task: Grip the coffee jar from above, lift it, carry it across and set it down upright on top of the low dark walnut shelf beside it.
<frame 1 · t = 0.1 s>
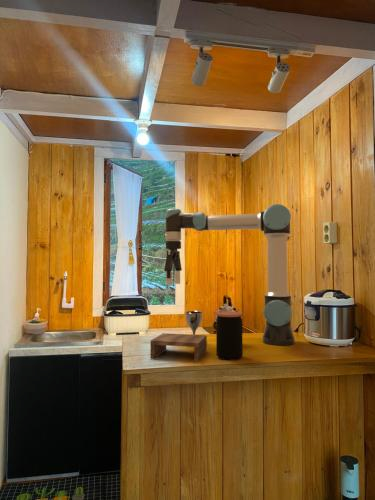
hand: (173, 284, 180), 28 cm above the table, tool pointing down, fingers open, 13 cm apart
walnut shelf: (179, 354, 156), on the table
milk carton: (226, 344, 176), on the table
wine glass: (194, 344, 177), on the table
coffee jar: (229, 357, 152), on the table
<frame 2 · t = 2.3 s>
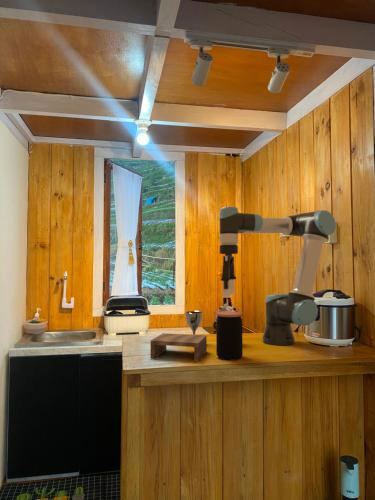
hand: (228, 296, 153), 25 cm above the table, tool pointing down, fingers open, 13 cm apart
nothing on the table moved.
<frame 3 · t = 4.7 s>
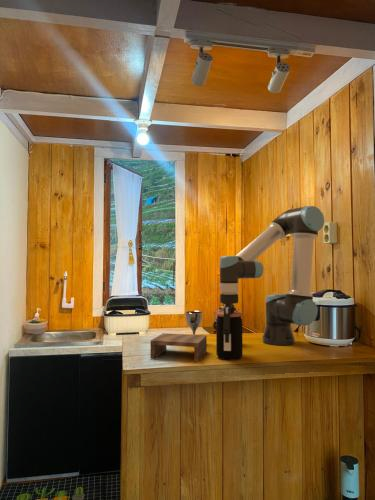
hand: (229, 347, 152), 4 cm above the table, tool pointing down, fingers closed on coffee jar, 11 cm apart
coffee jar: (229, 357, 152), on the table, touching gripper
everything else where it was.
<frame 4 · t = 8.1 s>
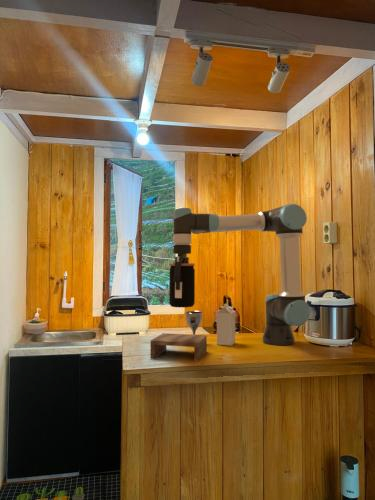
hand: (182, 296, 157), 24 cm above the table, tool pointing down, fingers closed on coffee jar, 11 cm apart
coffee jar: (181, 306, 156), point 20 cm above the table, touching gripper
everything else where it was.
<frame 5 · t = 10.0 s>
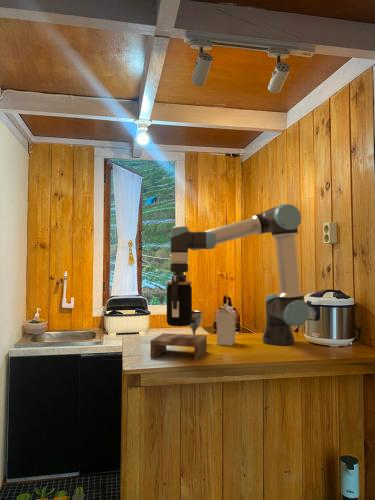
hand: (179, 315, 157), 17 cm above the table, tool pointing down, fingers closed on coffee jar, 11 cm apart
coffee jar: (179, 324, 157), point 12 cm above the table, touching gripper
everything else where it was.
when the fingers open (12 cm above the table, at t = 11.7 s): coffee jar stays where it is, resting on walnut shelf.
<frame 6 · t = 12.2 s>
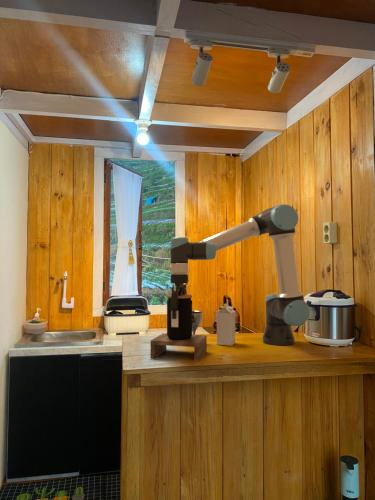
hand: (179, 324, 157), 13 cm above the table, tool pointing down, fingers open, 13 cm apart
coffee jar: (179, 338, 156), point 7 cm above the table, touching walnut shelf
everything else where it was.
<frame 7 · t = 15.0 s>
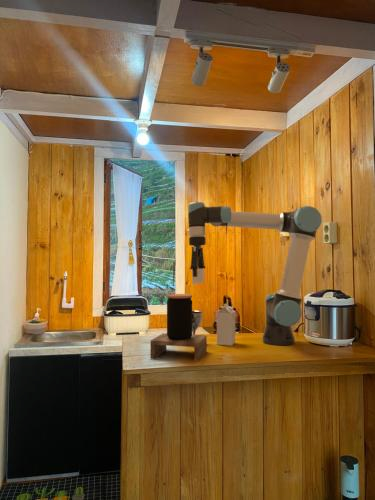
hand: (198, 283, 168), 29 cm above the table, tool pointing down, fingers open, 13 cm apart
nothing on the table moved.
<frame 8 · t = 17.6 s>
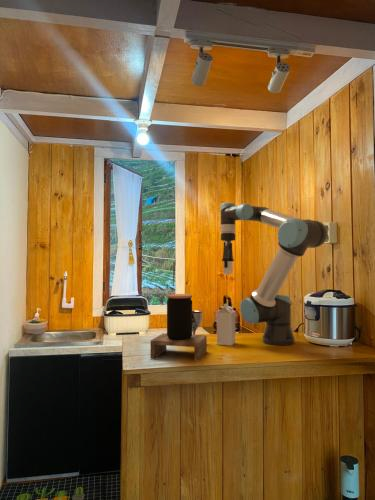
hand: (228, 274, 192), 33 cm above the table, tool pointing down, fingers open, 13 cm apart
nothing on the table moved.
at the end: coffee jar inside the target area on the walnut shelf (0.1 cm from its centre), point 6.8 cm above the walnut shelf's base; coffee jar tilted 0°; the gripper is holding nothing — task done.
